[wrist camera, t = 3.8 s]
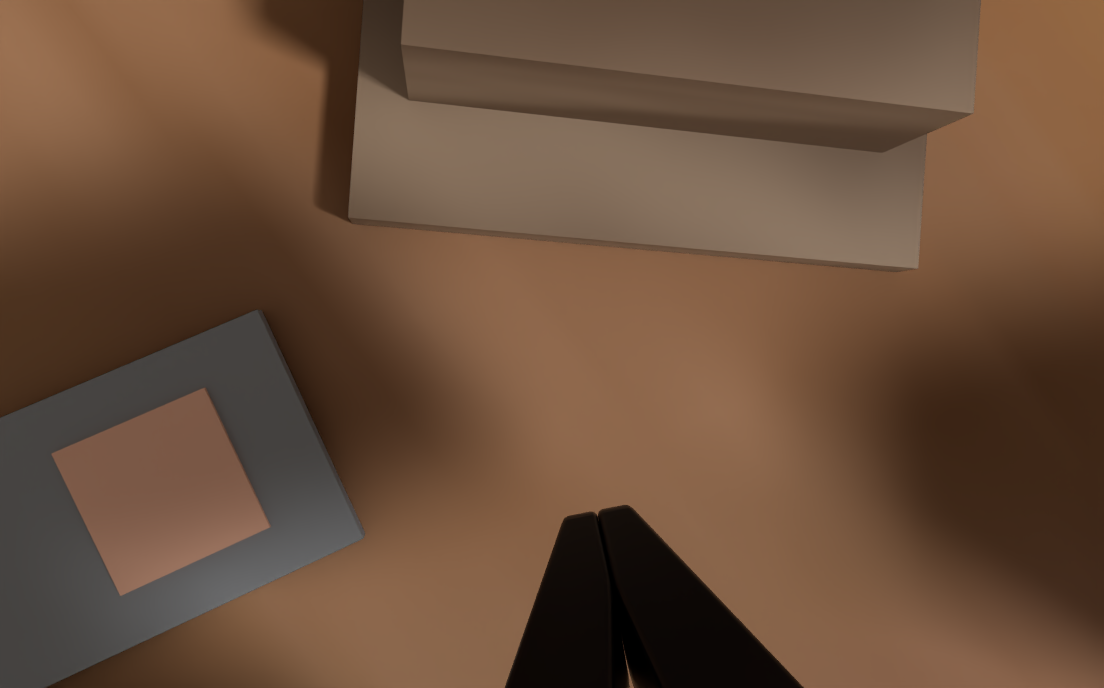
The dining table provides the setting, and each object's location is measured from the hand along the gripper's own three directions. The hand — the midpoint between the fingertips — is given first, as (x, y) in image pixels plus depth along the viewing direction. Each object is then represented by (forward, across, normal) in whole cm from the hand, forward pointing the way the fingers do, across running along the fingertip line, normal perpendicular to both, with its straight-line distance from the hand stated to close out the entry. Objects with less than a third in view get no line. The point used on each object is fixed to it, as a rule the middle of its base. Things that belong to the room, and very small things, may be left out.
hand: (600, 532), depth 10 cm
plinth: (+11, +3, +3) cm, 12 cm away
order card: (+4, -11, -3) cm, 12 cm away
